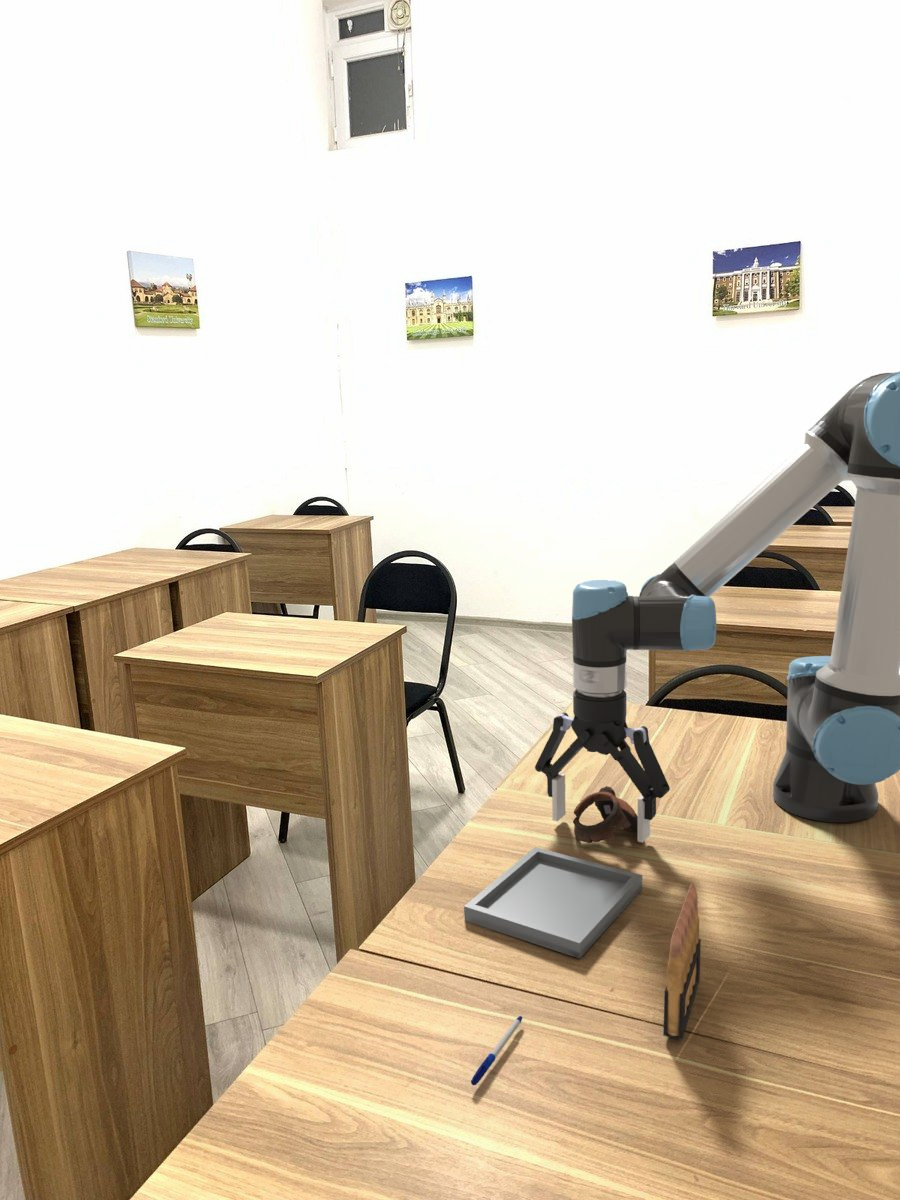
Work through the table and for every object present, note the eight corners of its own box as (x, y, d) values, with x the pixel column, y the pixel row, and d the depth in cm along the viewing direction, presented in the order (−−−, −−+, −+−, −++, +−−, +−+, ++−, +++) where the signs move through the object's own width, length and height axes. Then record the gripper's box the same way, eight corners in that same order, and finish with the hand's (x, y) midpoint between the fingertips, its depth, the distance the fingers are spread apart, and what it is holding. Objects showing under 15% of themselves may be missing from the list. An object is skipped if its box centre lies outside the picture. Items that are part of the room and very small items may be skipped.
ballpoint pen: (478, 1088, 87) (477, 1079, 87) (469, 1085, 88) (469, 1076, 87) (523, 1021, 96) (523, 1012, 96) (515, 1018, 97) (515, 1010, 96)
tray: (642, 889, 121) (642, 875, 120) (579, 958, 106) (579, 943, 106) (535, 860, 130) (535, 846, 129) (464, 920, 115) (464, 906, 115)
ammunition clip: (681, 1041, 92) (684, 935, 90) (663, 1036, 93) (665, 931, 90) (699, 978, 102) (702, 880, 99) (682, 974, 103) (685, 877, 100)
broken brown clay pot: (653, 858, 130) (628, 818, 127) (592, 881, 132) (566, 842, 129) (641, 801, 141) (618, 763, 137) (585, 823, 143) (561, 786, 140)
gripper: (510, 684, 135) (514, 818, 139) (673, 710, 121) (671, 858, 125) (535, 671, 141) (538, 800, 145) (694, 694, 127) (691, 837, 131)
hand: (600, 827), depth 135 cm, fingers open, 13 cm apart
